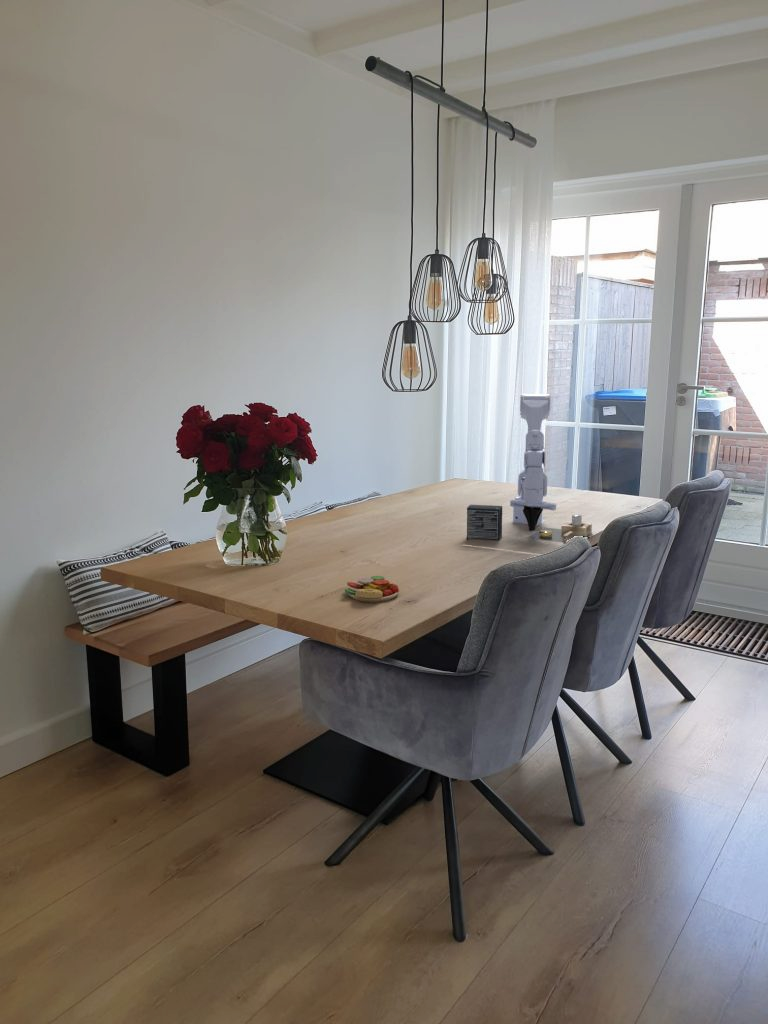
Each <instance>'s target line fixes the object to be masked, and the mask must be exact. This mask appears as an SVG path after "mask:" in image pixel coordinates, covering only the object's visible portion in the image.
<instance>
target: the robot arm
mask: <svg viewBox="0 0 768 1024" xmlns="http://www.w3.org/2000/svg"><path fill="white" fill-rule="evenodd" d="M519 397H520V398H519V399H520V402H519V403H520V404H519V405H520V406H519V411H520V412H519V413H520V418H521V419H522V420H525V421H526V425H527V433H526V434H525V449H524V450H525V451H524V453H523V470H522V471H520V472H519V474H518V478H517V495H518V496H516V497H515V498H514V499H510V500H509V501H510V503H509V505H510V507H512V508H513V509H512V513H513V514H512V523H515V524H526V525H527V527H528V531H529V532H534V531H535V532H536V528H537V526H540V525H542V524H543V523H545V522H546V520H545V519H543V511H544V510H549V511H556V510H557V503H556V502H555V503H554V502H548V501H543V499H544V497H546V496H547V495H548V475H547V473H546V472H545V471H544V468H545V467H546V450H545V435H544V433H543V432H541V429H542V428H541V427H542V422H544V420H546V419H548V418H549V416H550V411H551V395H550V394H549V393H544V394H541V393H539V394H538V393H537V394H536V393H534V394H533V393H529V394H528V393H527V394H526V393H521V394H520V396H519Z"/></svg>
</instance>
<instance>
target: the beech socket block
mask: <svg viewBox="0 0 768 1024" xmlns="http://www.w3.org/2000/svg"><path fill="white" fill-rule="evenodd" d="M560 529H561V535H565V534H566V533H568V532H569V531H571V532H573V536H586V537H587V536H589V535H590V534H592V529H593V524H592V523H590V522H582V521H581V526H572V520H571V521H570V520H568V521H566V522H565V523H564V524H562V525H561V528H560Z"/></svg>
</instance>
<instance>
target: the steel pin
mask: <svg viewBox="0 0 768 1024" xmlns="http://www.w3.org/2000/svg"><path fill="white" fill-rule="evenodd" d="M582 517H583V516H582V515H581V514H572V515H571V521H572V526H581V522H582V521H583V520H582V519H583V518H582Z"/></svg>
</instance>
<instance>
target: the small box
mask: <svg viewBox="0 0 768 1024" xmlns="http://www.w3.org/2000/svg"><path fill="white" fill-rule="evenodd" d="M466 513H467V514H466V540H467V541H469V540H470V539H471V540H484V541H485V540H486V541H501V539H502V538H503V505H491V504H489V505H487V504H469V505H468V506H467V507H466Z"/></svg>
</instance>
